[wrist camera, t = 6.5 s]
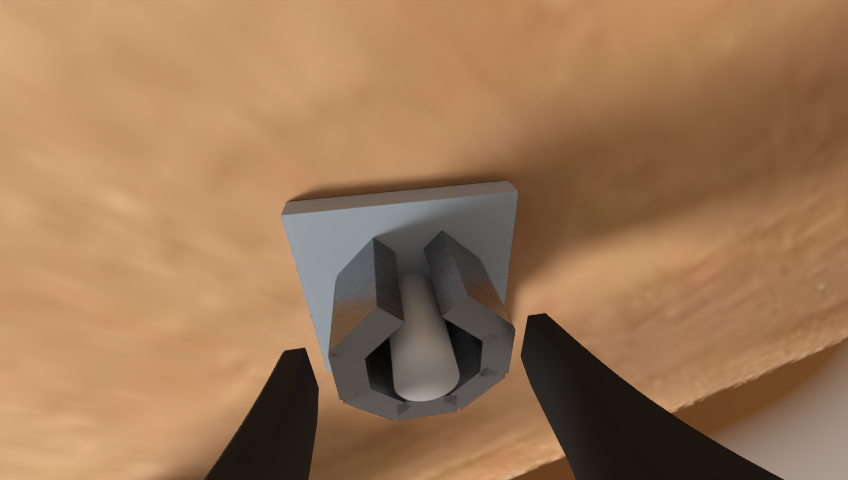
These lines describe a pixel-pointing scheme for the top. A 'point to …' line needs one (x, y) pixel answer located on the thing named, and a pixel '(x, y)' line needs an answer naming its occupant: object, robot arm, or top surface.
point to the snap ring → (383, 314)
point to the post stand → (403, 263)
